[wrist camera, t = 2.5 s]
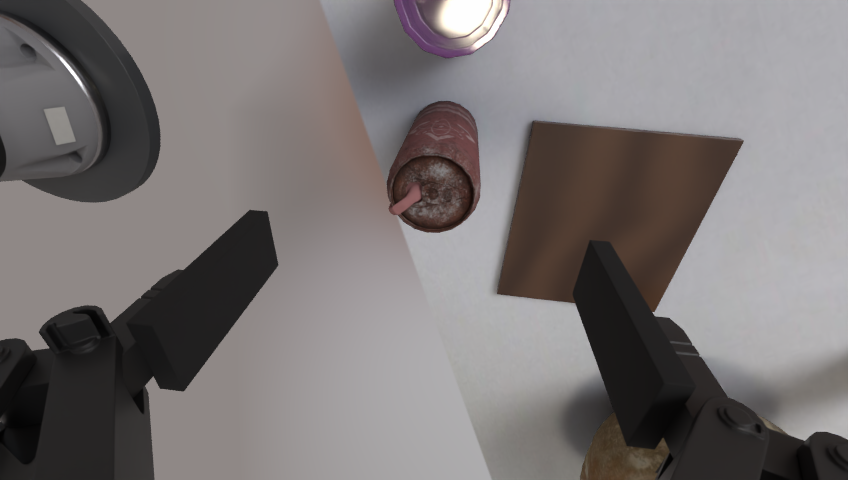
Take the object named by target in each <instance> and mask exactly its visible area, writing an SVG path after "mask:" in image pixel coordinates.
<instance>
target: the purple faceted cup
mask: <svg viewBox="0 0 848 480" xmlns="http://www.w3.org/2000/svg"><path fill="white" fill-rule="evenodd" d="M394 4H395V7H396V10H397V13H398V15H399V18H400V21H401V23H402V26H403V29H404V31H405V32H406V33H407V34H408V35H409V36H410V37H411V39H412V40H413V41H414V42H415V43H416V44H417V45H418V46H419V47H420V48H421V49H422V50H424V51H426V52H429V53H432V54H435V55H438V56H441V57H444V58H452V57H458V56H464V55H470V54H472V53H474V52H475V51H476V50H478V49H479V48H481V47H482V46H483V45H485V44H486V43H487V42H489V41H490V40H492V39H493V38H494V36H495V34H496V33H497V31H498V29H499V28H500V26H501V24H502V23H503V21H504V19H505V17H506V16H507V14H508V12H509V7H510V0H394Z"/></svg>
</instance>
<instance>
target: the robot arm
mask: <svg viewBox="0 0 848 480" xmlns="http://www.w3.org/2000/svg"><path fill="white" fill-rule="evenodd" d="M110 142H111V124H110V119H109V115H108V111H107V108H106V105H105V103H104V100H103V98H102V96H101V94H100V92H99V90H98V88H97V86H96V85H95V83H94V81H93V80H92V78H91V77H90V75H89V74H88V72H87V71H86V70H85V69H84V67H83V66H82V65H81V63H80V62H79V61H78V60H77V59H76V58H75V57H74V56H73V54H72V53H71V52H70V51H69V50H68V49H67V48H66V47H64V46H63V45H62V44H61V43H60V42H59V41H58V40H57V39H55V38H54V37H53V36H52V35H50V34H49V33H48V32H46V31H45V30H43V29H42V28H40V27H39V26H37V25H35V24H34V23H32V22H30V21H28V20H26V19H24V18H22V17H20V16H18V15H15V14H12V13H9V12H6V11H2V10H0V182H1V181H13V180H27V179H41V178H54V177H64V176H69V175H74V174H78V173H80V172H82V171H85V170H87V169H90V168H92V167H94V166H96V165H97V164H99V163H100V162H101V161H102V160H103V159H104V157H105V156H106V154H107V152H108V150H109V147H110ZM277 266H278V261H277V256H276V251H275V247H274V242H273V237H272V232H271V227H270V222H269V217H268V212H267V211H254V210H249V211H248V212H247V213H246V214H245V215H244V216H243V217H242V218H240V219H239V220H238V221H237V222H236V223H235V224H234V225H233V226H232V227H231V228H230V229H228V230H227V231H226V232H225V233H224V234H223V235H222V236H221V237H219V238H218V240H216V241H215V242H214V243H213V244H212V245H211V246H210V247H208V248H207V250H205V251H204V252H203V253H202V254H201V255H200V256H199V257H198V258H197V259H196V260H194V261H193V262H192V263H191V264H190V265H189V266H188V267H187V268H185V269H184V270H176V271H174V272H173V273H171V274H169V275H167V276H165V277H163V278H162V279H160V280H159V281H158V282H157V283H156V284H155V285H154V286H152V287H151V290H148V291H147V292H146V293H144V294H143V295H142V296H141V299H140V298H139V299H138V300H136V301H135V302H134V303H133V304H132V305H131V306H130V307H128V308H127V309H126V310H125V311H124V312H123V313H122V314H120V315H119V316H118V317H117V318H116V319H115V320H114V321H112V322H111V323H109V321H108V319H107V317H106V315H105V314H104V312H103V310H102V309H101V308H99V307H97V306H81V307H76V308H72V309H70V310H67V311H64V312H62V313H60V314H58V315H56V316H54V317H53V318H51V319H50V320H48V321H47V322H46V323H45V324H44V325H43V326H42V328H41V329H40V331H39V333H40V335H41V336H42V338H43V339H44V340H45V342H46V343H47V345H48V346H49V349H42V350H34V351H32V350H31V349H30V348H29V346H28V345H27V344H26V342H25V341H24V340H21V339H16V338H15V339H5V340H1V341H0V421H1V422H0V480H154V468H153V454H152V440H151V425H150V411H149V397H148V392H147V389H146V387H145V385H146V384H147V383H148V381H149V380H150V379H151V378H152V377H153V376H154V378H155V380H156V382H157V384H158V386H159V387H160V389H168V390H176V391H184V390H185V389H186V388H187V386H188V385H189V384H190V382H191V381H192V380H193V378H194V377H195V376H196V374H197V373H198V372H199V370H200V369H201V368H202V366H203V365H204V364H205V362H206V361H207V360H208V358H209V357H210V356H211V354H212V353H213V352H214V350H215V349H216V348H217V346H218V345H219V343H220V342H221V341H222V340H223V338H224V337H225V336H226V334H227V333H228V332H229V330H230V329H231V327H232V326H233V325H234V324H235V322H236V321H237V320H238V318H239V317H240V316H241V314H242V313H243V312H244V310H245V309H246V308H247V306H248V305H249V303H250V302H251V301H252V300H253V298H254V297H255V296H256V294H257V293H258V292H259V290H260V289H261V288H262V286H263V285H264V284H265V282H266V281H267V280H268V278H269V277H270V276H271V274H272V273H273V272H274V270H275V269H276V268H277ZM572 295H573V298H574V300H575V303H576V306H577V309H578V312H579V314H580V317H581V320H582V323H583V326H584V328H585V331H586V334H587V337H588V340H589V342H590V345H591V348H592V351H593V354H594V356H595V359H596V362H597V365H598V368H599V370H600V373H601V376H602V379H603V381H604V384H605V387H606V390H607V393H608V395H609V398H610V401H611V404H612V407H613V409H614V412H615V415H616V418H617V421H618V423H619V426H620V429H621V432H622V435H623V437H624V440H625V443H626V446H630V447H638V448H646V449H654V450H655V449H656V447H657V446H658V444H659V443H660V441H661V440H662V438H664V440H665V442H666V444H667V447H668V449H669V451H670V452H669V453H668V455H667V456H666V457H665V459H664V460H663V462H662V463H661V464H660V466H659V467H658V469H657V470H656V471H655V473H657V476H656V478H655V480H848V440H847V439H845V438H843V437H841V436H838V435H835V434H831V433H828V432H815V433H814V434H812V435H811V436H810V437H809V438H808V439H807V440H806V441H803V440H800V439H797V438H795V437H792V436H789V435H786V434H784V433H781V432H778V431H775V430H772V429H770V428H768V427H766V425H765V424H764V422H763V421H762V420H761V419H760V418H759V417H758V416H757V415H756V414H755V413H754V412H753V411H752V410H751V409H749V408H748V407H746V406H745V405H743V404H742V403H740V402H737V401H735V400H733V399H730V398H728V397H727V395H726V394H725V392H724V391H723V389H722V388H721V386H720V385H719V383H718V382H717V380H716V379H715V377H714V376H713V374H712V373H711V371H710V370H709V368H708V367H707V365H706V364H705V362H704V361H703V359H702V358H701V357H699V353H698V352H697V350H696V349H695V347H694V346H692V343H691V341H690V339H689V338H688V336H687V335H686V333H685V332H684V330H683V329H681V328H680V327H679V326H678V325H677V324H676V323H674V322H673V321H672V320H671V319H670V318H665V317H655V316H654V314H653V313H652V311H651V309H650V308H649V306H648V304H647V303H646V301H645V299H644V298H643V296H642V294H641V293H640V291H639V289H638V288H637V286H636V284H635V283H634V281H633V279H632V278H631V276H630V274H629V273H628V271H627V269H626V268H625V266H624V264H623V263H622V261H621V259H620V258H619V256H618V254H617V253H616V251H615V249H614V248H613V246H612V244H611V243H610V242H609V241H597V240H590V241H589V244H588V247H587V250H586V253H585V256H584V259H583V262H582V265H581V268H580V271H579V274H578V278H577V281H576V284H575V287H574V290H573V293H572Z"/></svg>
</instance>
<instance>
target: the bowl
mask: <svg viewBox="0 0 848 480" xmlns="http://www.w3.org/2000/svg"><path fill="white" fill-rule="evenodd" d="M758 417H759V418H760V419H761V420H762V421H763V422H764V424H765V425H766V427H768V428H770V429H772V430H775V431H778V432H781V433H784V434H786V435H788V434H787V433H785V432H784V431H783V430H782V429H780V428H779V427H777V426H776V425H774V424H773V423H771V422H769V421H768V420H766V419H765V418H763V417H760V416H758ZM669 452H670V451H669V449H668V447H667V444H666V442H665V440H664V438H662V440H661V441H660V443H659V444H658V446H657V447H656V449H655V450H654V449H646V448H638V447H630V446H626V443H625V440H624V437H623V435H622V432H621V429H620V426H619V423H618V421H617V418H616V415H615V412H614V413H613V414H611V415H610V416H609V417H608V418H607V420H605V421H604V422H603V423H602V425H601V426H600V427H599V429H598V430H597V432H596V434H595V435H594V437H593V441H592V443H591V445H590V447H589V449H588V452H587V454H586V457H585V460H584V463H583V466H582V471H581V476H580V480H655V478H656V476H657V473H655V471H656V470H657V469H658V467H659V466H660V464H661V463H662V462H663V460H664V459H665V457H666V456H667V455H668V453H669Z"/></svg>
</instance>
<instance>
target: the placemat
mask: <svg viewBox="0 0 848 480" xmlns="http://www.w3.org/2000/svg"><path fill="white" fill-rule="evenodd" d="M743 142H744V140H742V139H737V138H726V137H715V136H703V135H692V134H680V133H669V132H658V131H646V130H635V129H624V128H612V127H601V126H590V125H578V124H567V123H556V122H544V121H533V125H532V130H531V135H530V139H529V144H528V149H527V153H526V158H525V163H524V167H523V172H522V177H521V181H520V186H519V191H518V195H517V200H516V205H515V209H514V214H513V219H512V224H511V228H510V233H509V238H508V242H507V247H506V252H505V256H504V261H503V266H502V270H501V275H500V280H499V284H498V289H497V294H501V295H510V296H518V297H527V298H536V299H544V300H553V301H562V302H571V303H575V300H574V298H573V295H572V293H573V290H574V287H575V284H576V281H577V278H578V274H579V271H580V268H581V265H582V262H583V259H584V256H585V253H586V250H587V247H588V244H589V241H590V240H597V241H609V242H610V243H611V244H612V246H613V248H614V249H615V251H616V253H617V254H618V256H619V258H620V259H621V261H622V263H623V264H624V266H625V268H626V269H627V271H628V273H629V274H630V276H631V278H632V279H633V281H634V283H635V284H636V286H637V288H638V289H639V291H640V293H641V294H642V296H643V298H644V299H645V301H646V303H647V304H648V306H649V308H650V309H651V311H652V312H655V310H656V308H657V306H658V304H659V302H660V300H661V298H662V297H663V295H664V293H665V291H666V289H667V287H668V285H669V283H670V281H671V279H672V277H673V276H674V274H675V272H676V270H677V268H678V266H679V264H680V262H681V260H682V258H683V256H684V255H685V253H686V251H687V249H688V247H689V245H690V243H691V241H692V239H693V237H694V235H695V234H696V232H697V230H698V228H699V226H700V224H701V222H702V220H703V218H704V216H705V214H706V212H707V211H708V209H709V207H710V205H711V203H712V201H713V199H714V197H715V195H716V193H717V191H718V190H719V188H720V186H721V184H722V182H723V180H724V178H725V176H726V174H727V172H728V170H729V169H730V167H731V165H732V163H733V161H734V159H735V157H736V155H737V153H738V151H739V149H740V148H741V146H742V144H743Z"/></svg>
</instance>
